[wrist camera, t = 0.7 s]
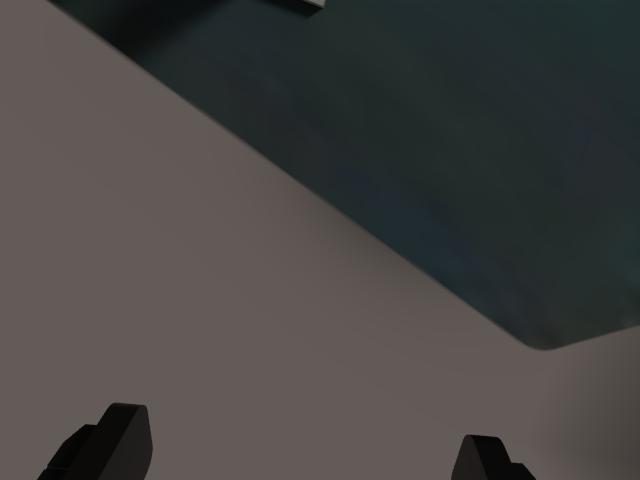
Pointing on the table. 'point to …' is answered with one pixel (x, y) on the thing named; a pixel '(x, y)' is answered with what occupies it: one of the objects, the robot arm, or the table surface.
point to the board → (316, 2)
